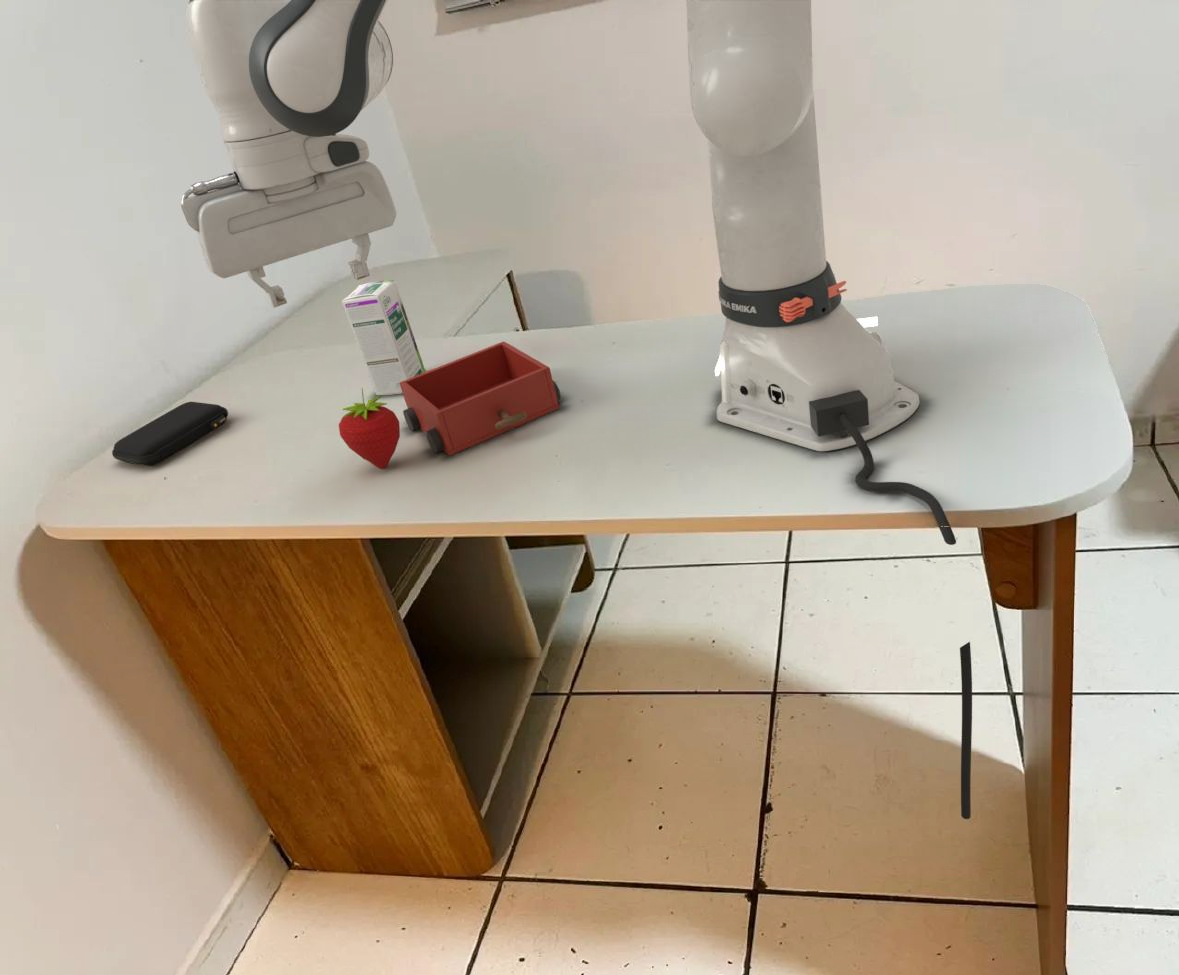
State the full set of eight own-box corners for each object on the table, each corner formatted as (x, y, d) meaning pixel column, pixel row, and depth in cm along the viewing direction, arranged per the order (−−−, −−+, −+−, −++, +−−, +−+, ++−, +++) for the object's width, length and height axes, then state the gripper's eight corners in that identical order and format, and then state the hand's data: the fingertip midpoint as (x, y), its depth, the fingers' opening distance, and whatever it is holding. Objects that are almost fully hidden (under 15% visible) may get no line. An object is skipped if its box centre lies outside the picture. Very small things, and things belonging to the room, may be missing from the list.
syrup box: (413, 393, 129) (380, 293, 122) (374, 396, 131) (340, 298, 123) (427, 374, 134) (396, 277, 127) (390, 378, 135) (357, 283, 128)
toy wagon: (579, 413, 113) (569, 371, 110) (452, 469, 107) (438, 426, 104) (520, 376, 126) (510, 338, 124) (404, 424, 121) (391, 385, 118)
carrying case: (157, 473, 123) (243, 420, 133) (147, 453, 122) (234, 401, 132) (111, 465, 129) (197, 414, 139) (101, 445, 127) (188, 396, 137)
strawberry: (371, 453, 115) (344, 380, 110) (422, 455, 112) (397, 379, 107) (344, 479, 111) (314, 404, 106) (396, 481, 107) (369, 403, 102)
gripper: (179, 192, 88) (233, 329, 95) (380, 137, 96) (416, 267, 103) (168, 184, 93) (220, 315, 100) (361, 132, 101) (396, 257, 108)
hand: (321, 290), depth 102 cm, fingers open, 8 cm apart
